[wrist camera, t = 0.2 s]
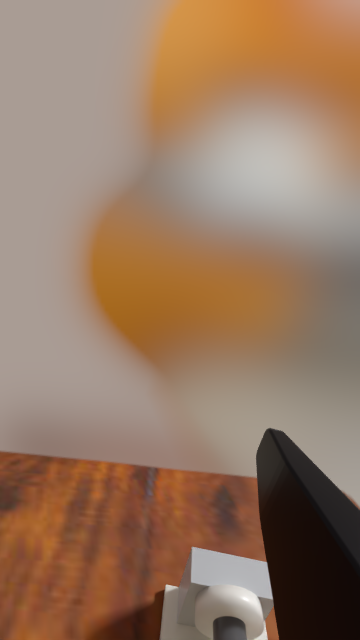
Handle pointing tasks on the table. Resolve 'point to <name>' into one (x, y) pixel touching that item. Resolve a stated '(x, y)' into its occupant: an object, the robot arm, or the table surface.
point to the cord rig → (218, 599)
